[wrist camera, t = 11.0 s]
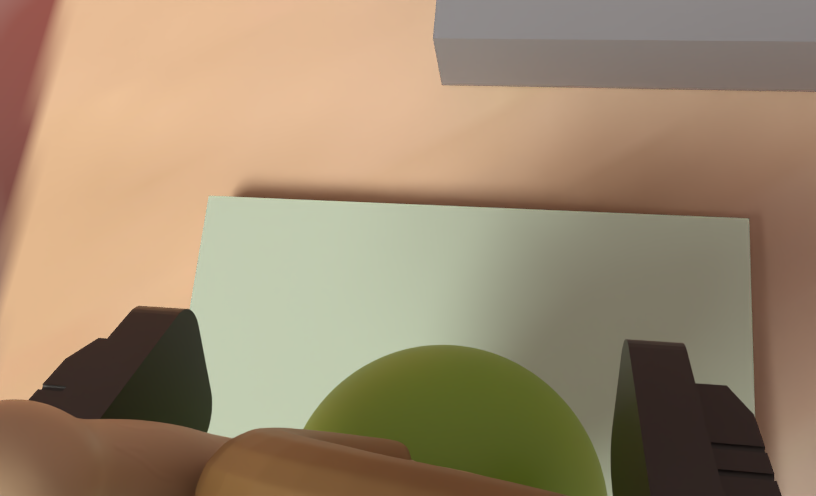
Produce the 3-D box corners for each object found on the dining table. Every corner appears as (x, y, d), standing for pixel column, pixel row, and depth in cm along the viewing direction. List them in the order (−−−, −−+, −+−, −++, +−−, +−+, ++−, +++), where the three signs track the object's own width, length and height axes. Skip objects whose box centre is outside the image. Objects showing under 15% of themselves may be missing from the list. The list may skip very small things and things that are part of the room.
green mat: (738, 230, 20) (749, 218, 19) (753, 867, 16) (768, 891, 15) (222, 207, 22) (208, 195, 21) (130, 765, 18) (109, 781, 17)
